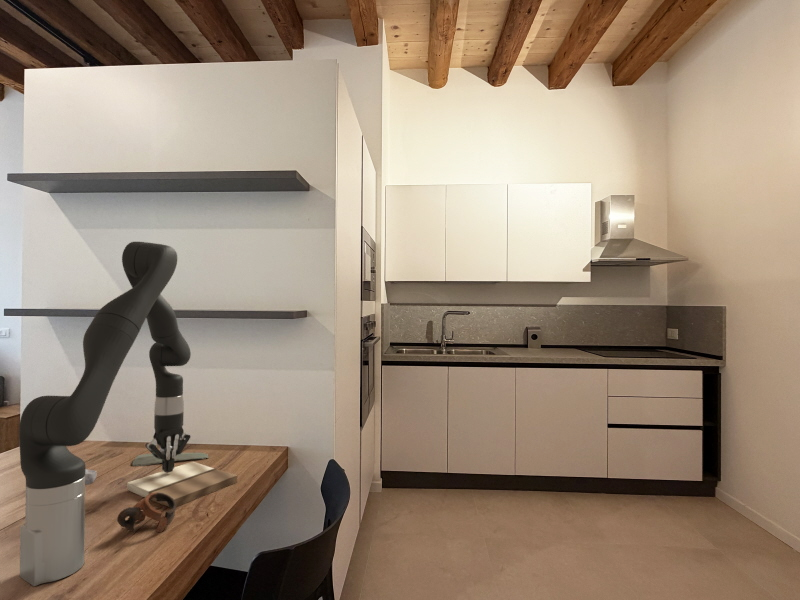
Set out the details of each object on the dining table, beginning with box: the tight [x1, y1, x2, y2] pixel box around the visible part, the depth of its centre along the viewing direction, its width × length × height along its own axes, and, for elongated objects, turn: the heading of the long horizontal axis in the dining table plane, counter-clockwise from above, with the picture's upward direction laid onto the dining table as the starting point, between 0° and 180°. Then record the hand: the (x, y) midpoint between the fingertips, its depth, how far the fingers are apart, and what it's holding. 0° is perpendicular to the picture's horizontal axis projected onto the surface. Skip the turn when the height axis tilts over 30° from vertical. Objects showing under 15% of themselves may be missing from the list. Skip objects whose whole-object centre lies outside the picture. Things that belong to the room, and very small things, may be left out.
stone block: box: [85, 468, 97, 486], centre depth 133 cm, size 12×5×10 cm
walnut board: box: [149, 467, 238, 508], centre depth 127 cm, size 20×10×2 cm, turn 149°
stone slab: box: [132, 452, 209, 467], centre depth 153 cm, size 22×3×10 cm
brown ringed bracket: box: [116, 493, 177, 533], centre depth 106 cm, size 12×10×8 cm
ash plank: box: [126, 461, 214, 498], centre depth 133 cm, size 20×10×2 cm, turn 149°
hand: (168, 471), depth 133 cm, fingers closed
